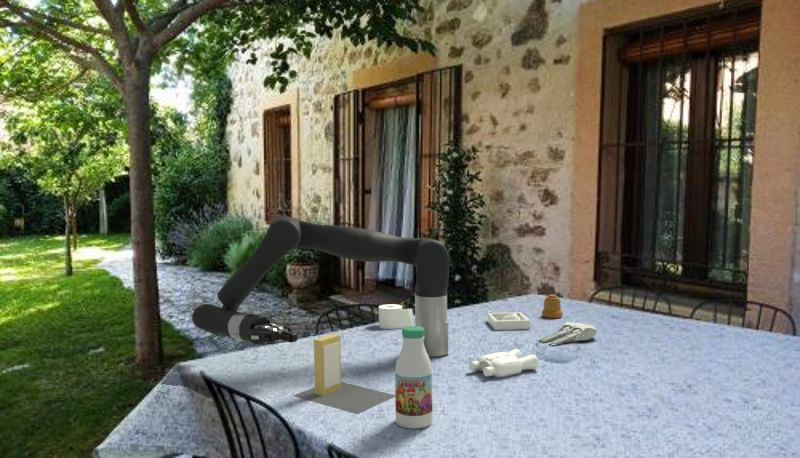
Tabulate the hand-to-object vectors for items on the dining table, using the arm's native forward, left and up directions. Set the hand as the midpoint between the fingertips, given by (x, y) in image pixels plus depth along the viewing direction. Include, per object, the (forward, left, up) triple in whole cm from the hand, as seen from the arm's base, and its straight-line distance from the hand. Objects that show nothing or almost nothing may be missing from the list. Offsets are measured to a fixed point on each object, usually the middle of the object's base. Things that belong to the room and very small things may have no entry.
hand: (294, 338), depth 153 cm
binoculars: (-53, -7, -12) cm, 55 cm away
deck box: (-8, +7, -11) cm, 16 cm away
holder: (-66, -57, -12) cm, 89 cm away
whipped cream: (-67, -57, -12) cm, 89 cm away
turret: (-81, -36, -12) cm, 89 cm away
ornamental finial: (-85, -69, -12) cm, 111 cm away
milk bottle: (-27, +27, -12) cm, 40 cm away
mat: (-12, +10, -12) cm, 20 cm away
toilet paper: (-27, -59, -12) cm, 67 cm away
